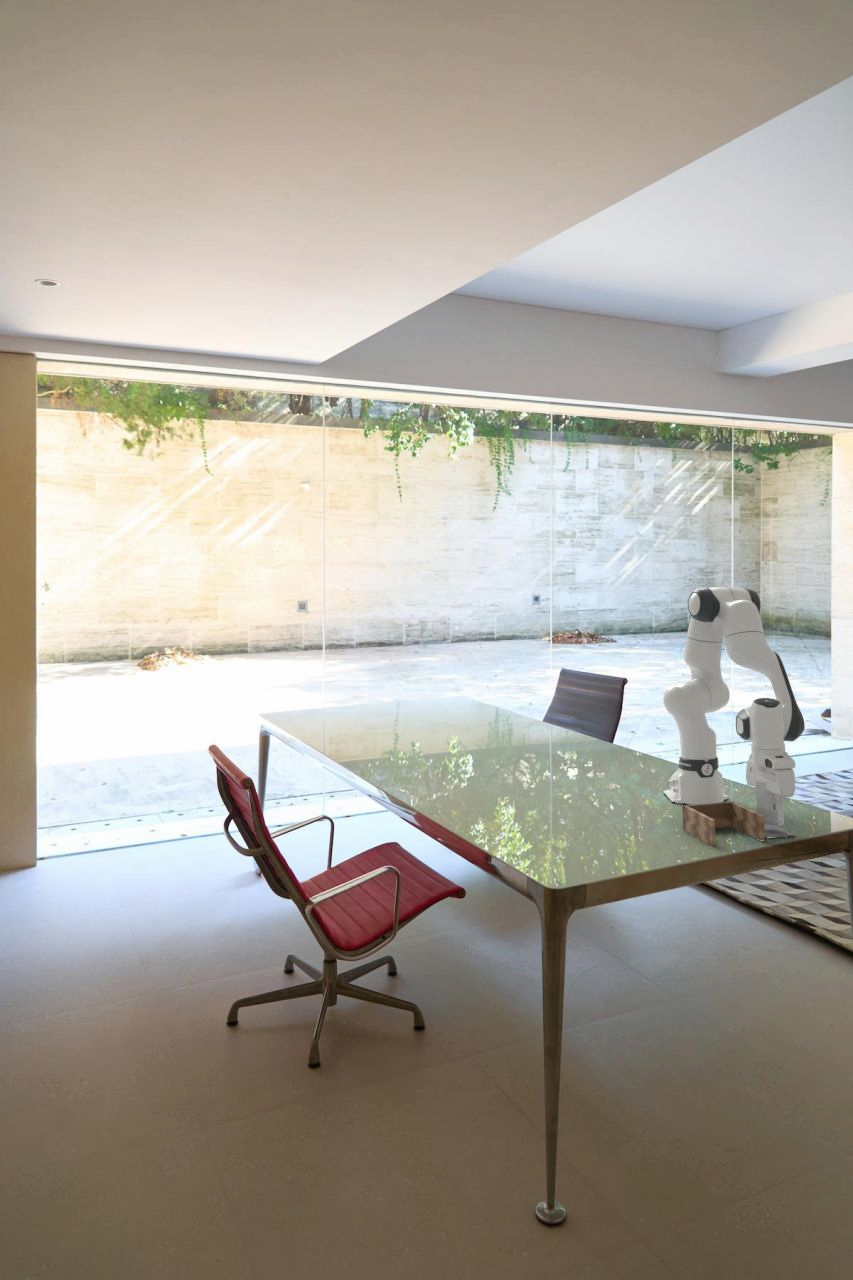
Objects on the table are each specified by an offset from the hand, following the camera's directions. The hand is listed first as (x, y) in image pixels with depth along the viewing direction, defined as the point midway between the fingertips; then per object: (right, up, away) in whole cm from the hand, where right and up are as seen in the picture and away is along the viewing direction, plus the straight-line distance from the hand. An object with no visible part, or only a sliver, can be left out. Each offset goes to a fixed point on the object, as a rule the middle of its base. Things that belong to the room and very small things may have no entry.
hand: (769, 806), depth 258 cm
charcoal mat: (0, -7, 0) cm, 7 cm away
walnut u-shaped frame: (-13, -8, -1) cm, 15 cm away
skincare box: (0, -5, 0) cm, 5 cm away
